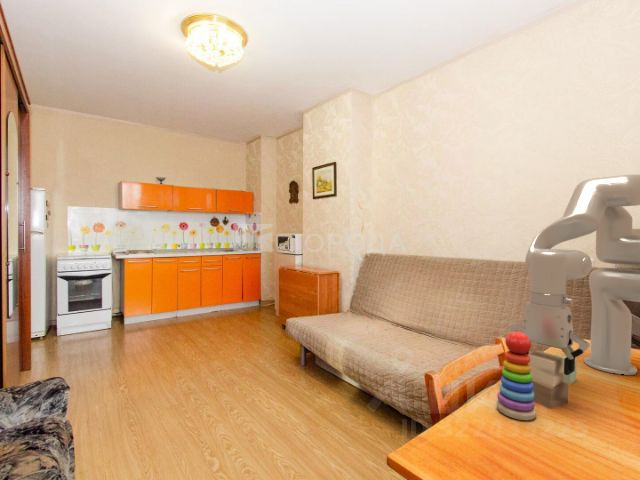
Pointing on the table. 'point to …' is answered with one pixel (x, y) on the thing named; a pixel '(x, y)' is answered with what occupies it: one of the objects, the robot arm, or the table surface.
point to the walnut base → (550, 394)
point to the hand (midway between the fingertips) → (545, 366)
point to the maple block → (546, 368)
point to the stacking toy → (517, 380)
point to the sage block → (572, 376)
